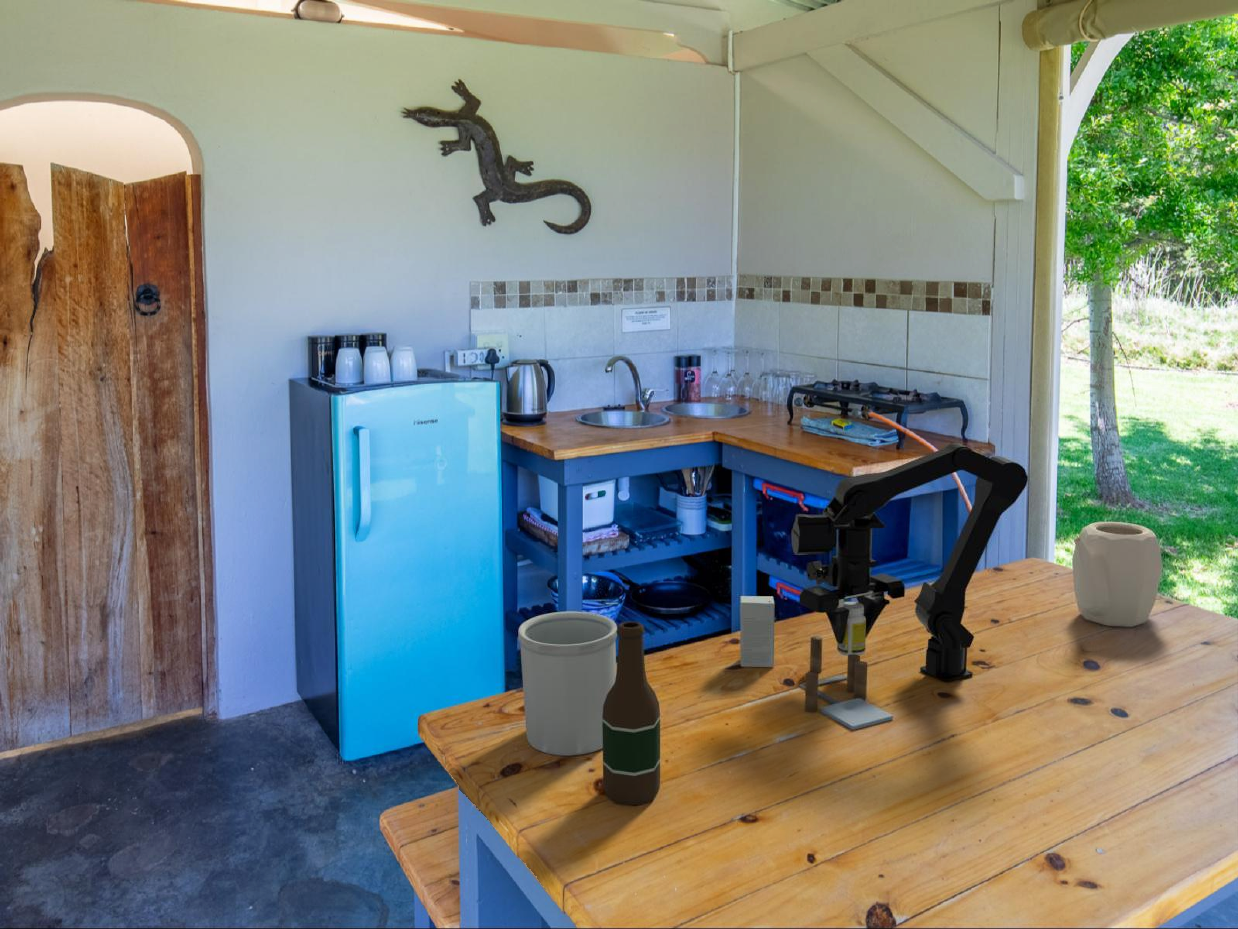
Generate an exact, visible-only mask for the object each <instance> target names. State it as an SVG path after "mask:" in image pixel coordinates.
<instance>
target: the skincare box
mask: <svg viewBox="0 0 1238 929" xmlns="http://www.w3.org/2000/svg"><path fill="white" fill-rule="evenodd" d="M739 597H740V599H739V600H740V601H739V604H740V606H739V609H740V610H739V615H740V624H739V625H740V635H739V636H740V641H739V642H740V653H739V654H740V667H742V668H743V667H744V668H774V667H775V604H776V603H775V600H774V596H772V595H771V596H765V595H764V596H759V595H755V596H752V595H751V596H750V595H741V596H739Z"/></svg>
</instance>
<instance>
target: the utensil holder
mask: <svg viewBox="0 0 1238 929" xmlns="http://www.w3.org/2000/svg"><path fill="white" fill-rule="evenodd" d="M617 628H618V625H617V624H616V622H615V621H614V620H613V619H612V618H611V617H610V618H609V617H608V616H605V615H602V614H598V613H595V612H594V613H593V612H587V611H571V610H569V611H567V610H566V611H558V612H557V611H556V612H550V613H544V614H539V615H537V616H534V617H532V618H529V619H528V620H526V621H524V622H523V623H521V624H520V626H519V627H518V629H517V630H518V635H517V636H518V637H517V638H518V641H519V643H520V658H521V659H520V660H521V674H522V690H523V694H522V695H523V707H524V718H525V731H526V732H525V733H526V740H527V743H528V744H529V745H530V746H531V747H532V748H534V749H535V750H538V751H540V752H543V753H546V754H549V755H553V756H554V755H555V756H567V757H570V756H577V755H585V754H586V755H587V754H590V753H594V752H598V751H599V750H603V732H602V716H603V705H604V702H605V699H606V696H607V694H608V692H609V691H610V689H611V688H612V686H613V685H614V683H615V679H616V673H617V653H616V651H617V650H616V640H617V638H618V637H617V636H618V634H617V633H616V631H617Z"/></svg>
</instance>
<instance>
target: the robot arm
mask: <svg viewBox="0 0 1238 929" xmlns="http://www.w3.org/2000/svg"><path fill="white" fill-rule="evenodd" d="M959 471H964V472H967V473H968V474H971V475H973V476H975V477H976V480H975V484H974V503H973V505H972V507H971V509H970V512H969V514H968V516H967V518H966V521H965V522H964V525H963V527H962V529H961V530H960V533H959V536H958V538H957V540H956V541H955V543H954V546H953V548H952V550H951V553H950V555H949V557H948V559H947V561H946V563H945V566H944V568H943V570H942V572H941V574H940V576H939V577H938V578H937V579H936V580H935V581H934V582H933V583H932V584H929V583H928V582H926V581H924V582H923V583H922V585H921V589H920V592H919V594H918V596H917V597H916V598H915V599H914V603H915V604H916V605H915V609H914V610H915V612H914V613H915V615H916V618H917V619H918V621H919V622H920V623H921V624H922V626H924V628H925V631H926V632H928V633H929V634H930V635H931V636H930V638H927V648H926V649H925V665H924V666H920V668H919V671H921V672H924V673H926V674H927V675H929V676H933V678H936V679H939V680H940V681H942V682H946V683H947V682H948V683H949V682H952V681H957V680H960V679H965V678H968V677H972V676H974V672H973V671H971V670H969V669H967V661H968V660H967V659H968V648H970V647H972V644H973V641H974V638H975V636H974V634H973V633H972V632H970V631H969V630H968V629H967V628H966V627H965V626H964V625H963V624H962V620H963V618H964V614H965V610H966V592H967V588H968V586H969V584H970V582H971V580H972V577H973V576H974V572H975V570H976V569H977V566H978V564H979V562H980V561H981V559H982V556H983V554H984V551H985V549H987V548H986V547H987V545H988V544H989V542H990V538H991V537H992V535H993V533H994V530H995V528H996V526H997V524H998V522H999V520H1000V518H1001V516H1002V515H1003V513H1005V512H1006V511H1007V510H1008V509H1009V508H1011V507H1012V506H1013V505H1014V504H1015V503H1016V501H1017V500H1018V498H1020V496H1021V495H1022V493H1023V492H1024V490H1025V489H1026V487H1027V484H1028V482H1029V481H1028V480H1029V476H1028V473H1027V470H1026V469H1025V467H1023V466H1022V465H1021V464H1019V463H1018V462H1015V461H1013V460H1011V459H1009V458H1007V457H1004V456H1001V455H999V456H998V455H995V456H991V457H988V456H985V455H983V454H981V453H979V452H976V451H974V450H972V448H969V447H968V446H965V445H963V444H961V443H959V442H954V443H950V444H948V445H947V446H946V447H944V448H942V449H939V450H936V451H933V452H931V453H929V454H926V455H924V456H921V457H919V458H917V459H914V460H911V461H909V462H906V463H903V464H901V465H898V466H895V467H893V468H891V469H888V470H886V471H882V472H876V473H875V472H874V473H864V474H860V475H854V476H850V477H846V478H844V479H842V480H841V481H840V482H839V483H838V484H837V487H836V489H835V494H834V496H833V498H832V499H831V500H830V502H829V503H828V504H827V505H826V506H825V508H824V509H823V510H822V514H805V513H804V514H803V513H797V514H795V519H794V520H795V521H794V523H793V526H792V529H791V536H790V538H791V546H792V550H793V554H794V555H796V556H801V555H802V556H803V555H811V556H812V555H829V554H830V552H834V549H835V548H836V555H835V556H834V555H833V556H831V558H830V564H826V565H825V564H824V565H823V563H822V561H821V560H817V561H812V562H811V561H810V562H807V564H806V576H807V580H809V581H812V582H813V581H815V585H816V586H811V587H805V588H803V589H802V590H801V591H800V592H799V598H798V599H799V601H798V602H799V605H801V606H803V607H805V608H807V609H808V610H811V611H814V612H816V613H819V614H824V613H825V615H826V617H827V619H828V621H829V624H830V626H831V629H832V632H833V636H834V638H835V641H836V643H839V644H842V643H843V640H844V637H845V631H846V626H847V621H848V616H849V609H847V608H844V602H845V601H846V600H850V599H855V598H856V600H857V602H858V603H861V604H863V605H864V614H863V615H864V616H865V618H866V638H867V637H868V635H869V633H870V632H871V630H872V628H873V626H874V624H875V623H876V621H877V620H878V618H879V616H880V615H881V614H882V612H883V611H884V609H885V608H886V606H888V605H890V603H891V600H890V599H892V600H894V599H900V598H905V597H906V596H905V595H906V586H905V584H904V582H903V580H902V579H899V578H897V577H894V576H892V575H889V574H887V573H882V574H875V575H872V574H871V573H872V568H874V567H877V560H875V559H873V558H872V540H873V529H884V528H885V527H886V525H885V524H884V522H882V520H880V519H879V517H878V516H877V514H876V513H875V512H877V511H878V510H879V509H881V508H883V507H885V506H886V505H887V503H889V502H890V501H891V500H892V499H894V498H896V496H899V495H901V494H904V493H905V492H909V491H911V490H914V489H916V488H919V487H921V486H924V485H926V484H928V483H931V482H934V481H936V480H938V479H941V478H942V479H943V478H945V477H947V476H949V475H952V474H955V473H956V472H959ZM823 583H824V584H825V583H827V586H828V587H832V588H835V589H832V590H831V589H829V588H826V587H823V586H821V585H822V584H823ZM885 593H887V596H888V597H889V599H887V598H885V595H886V594H885Z"/></svg>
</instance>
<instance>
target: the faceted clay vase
mask: <svg viewBox="0 0 1238 929" xmlns="http://www.w3.org/2000/svg"><path fill="white" fill-rule="evenodd" d="M1072 541H1073V543H1074V544H1075V545H1074V550H1073V554H1072V558H1071V560H1072V563H1071V564H1072V578H1073V591H1074V595H1075V600H1076V605H1077V608H1078V612H1079V613H1080V614H1081V616H1082V617H1083V619H1085V620H1086V621H1090V622H1094V623H1098V624H1101V625H1103V626H1107V627H1123V628H1124V627H1127V628H1132V627H1135V626H1138V625H1141V624H1144V623H1146V622H1147V621H1148V619H1149V617H1150V615H1151V612H1152V610H1153V607H1154V605H1155V604H1156V600H1157V599H1156V598H1157V595H1158V590H1159V588H1160V583H1161V582H1160V581H1161V578H1162V574H1163V565H1162V564H1163V562H1162V551H1161V548H1160V545H1159V544H1160V543H1159V540H1158V538H1157V535H1156V534H1155V532H1154V531H1152V530H1151V529H1149V528H1147V526H1146V527H1145V526H1143V525H1139V524H1135V523H1131V522H1130V523H1129V522H1124V521H1123V522H1122V521H1097V522H1092V523H1090V524H1088V525H1086V526H1084V527H1083V528H1082V529H1081V531H1080V534H1079V535H1078V537H1075V538H1074V539H1072Z"/></svg>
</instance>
